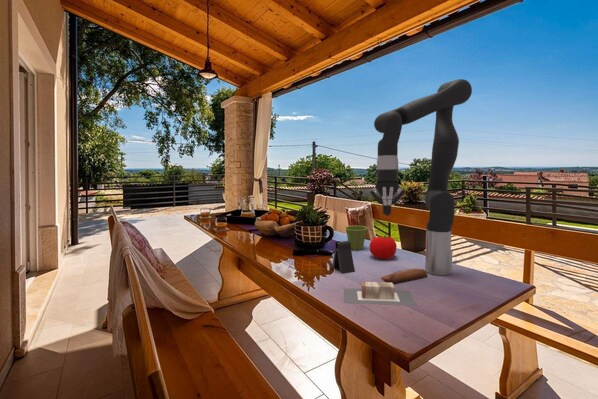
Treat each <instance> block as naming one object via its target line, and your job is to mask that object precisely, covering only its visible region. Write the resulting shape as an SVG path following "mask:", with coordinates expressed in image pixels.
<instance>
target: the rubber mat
mask: <svg viewBox="0 0 598 399" xmlns="http://www.w3.org/2000/svg"><path fill="white" fill-rule="evenodd" d="M343 303H344V304H360V305H361V304H365V305H390V306H391V305H393V306H413V307H417V306H418V305H417V303H416V301H415V299H414V297H413V295H412V294H411V292H410V290H408V289H406V290H405V289H395V290H394V299H372V298H362V288H350V287H349V288H347V287H345V288H343Z"/></svg>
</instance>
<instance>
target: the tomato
mask: <svg viewBox="0 0 598 399" xmlns="http://www.w3.org/2000/svg"><path fill="white" fill-rule="evenodd" d="M397 247H398V246H397V242H396V241H395V239H394V238H393V237H391V236H387V235H384V236H375V237H374V238H372V239H371V240H370V242H369V249H368V250H369V252H370V253H371V255H372V256H373V257H374V258H378V259H381V260H388V259H392V258H394V256H395V255H396V253H397Z"/></svg>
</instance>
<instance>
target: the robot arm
mask: <svg viewBox="0 0 598 399" xmlns="http://www.w3.org/2000/svg"><path fill="white" fill-rule="evenodd" d="M472 92H473V87H472V84H471V83H470V82H469V81H468V80H467V79H454V80H451V81H448V82H444V83H443V84H441V85H440V86H439V88H438V89H437V92H435V93H433V94H430V95H425V96H423V97H420V98H418V99H415V100H412V101H410V102H407V103H405V104H403V105H401V106H399V107H398V108H395V109H392V110H389V111H385V112H384V113H380V114H379V115H378V116H377V117H376V118H375V119H374V122H373V126H374V129H375V131H377V132H378V133H381V134H383V135H382V138H381V139H380V140H379V141H378V142H377V159H376V183H375V186H374V187H373V188H372V189H371V190H369V193H370V195H371V196H372V197H373V199H374V200H375V201H376V202H377V203H378V204H379V205H381V206H382V213H383V214H384V216H386V217H387V216H388V217H389V216H390V215H391V214H392V205H396V204H397V203H398V202H399V201H400V199H401V198H402V197H403V196H404V194H405V193H406V191H405V190H404V189H402V188H401V187H400V184H399V158H398V153H399V152H398V150H399V147H398V143H399V140H400V137H401V132H402V129H403V128H402V127H403V125H409V124H412V123H414V122H417V121H418V120H421V119H422V118H425V117H426V116H429V115H431V114H433V113H435V122H434V123H435V125H434V135H433V141H432V142H433V143H432V147H431V148H432V149H431V150H432V152H431V161H430V170H429V171H430V172H429V180H428V184H427V188H426V193H425V198H424V204H425V206H426V208H427V209H428V210H429V216H428V218H429V219H428V221H427V222H426V224H425V225H426V228H425V229H426V230H425V231H426V232H425V233H426V234H425V263H424V264H425V267H424V268H425V269H424V270H425V271H426V273H427V274H430V275H437V276H446V275H452V274H453V255H454V254H453V250H452V227H453V225H454V221H455V206H456V205H455V204H456V203H455V198H454V196H453V195H452V193H450V192H449V191H448V184H449V178H450V175H451V172H452V170H453V168H454V166H455V163H456V162H457V157H458V153H459V144H460V139H459V135H458V132H457V130H456V127H455V126H454V122H453V111H454V107H456V106H459V105H461V104H465V103H466V102H467V101H468V100H469V99H470V98H471V96H472ZM396 192H397V194H396ZM377 193H378V194H379V195H380V196H381V199H380V198H379V196H378V195H377ZM395 194H396V196H395V197H394V198H393V196H394V195H395Z"/></svg>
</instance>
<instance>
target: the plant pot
mask: <svg viewBox="0 0 598 399" xmlns="http://www.w3.org/2000/svg"><path fill="white" fill-rule="evenodd" d="M344 229H345V232H346V236H347V241H350V242H351V250H353V251H360V250H363V249H364V247H365V246H364V244H365V239H366V238H365V237H366V235H367V234H366V233H367V230H368V227H367V226H364V225H348V226H345V227H344Z"/></svg>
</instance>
